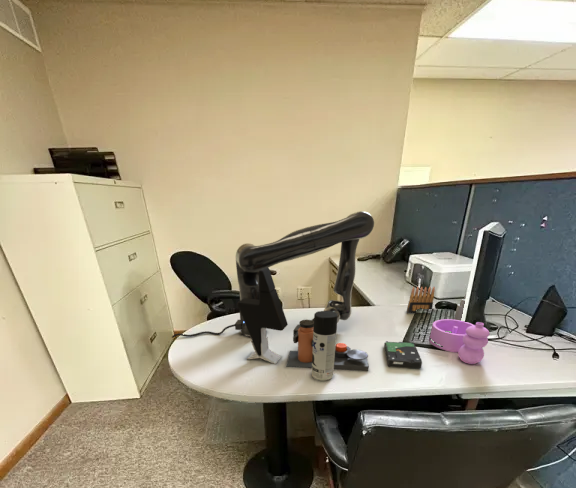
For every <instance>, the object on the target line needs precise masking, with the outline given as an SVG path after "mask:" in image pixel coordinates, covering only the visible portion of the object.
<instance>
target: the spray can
mask: <svg viewBox="0 0 576 488" xmlns="http://www.w3.org/2000/svg"><path fill="white" fill-rule="evenodd" d="M313 315H314V316H313V318H314V328H313V352H312V368H311V376H312V378H313V379H314V380H316V381H320V382H326V381H330V380H331V379H333V377H334V371H335V369H334V358H335V346H336V344H337V332H338V323H337V318H338V315H337V314H336V313H335V312H332V311H324V310H319V311H318V310H317V311H315V313H314V314H313Z"/></svg>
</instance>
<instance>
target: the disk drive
mask: <svg viewBox="0 0 576 488" xmlns="http://www.w3.org/2000/svg"><path fill="white" fill-rule="evenodd" d="M383 349H384V353H385V358H386V363H387V366H388V367H391V368H403V369H404V368H405V369H422V367H423V366H422V365H423V361H422V358H421V356H420V353H419V351H418V349H417V346H416V343H415V342H409V341H387V340H386V341H385V342H384V343H383Z"/></svg>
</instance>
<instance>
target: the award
mask: <svg viewBox="0 0 576 488" xmlns="http://www.w3.org/2000/svg"><path fill="white" fill-rule="evenodd" d="M259 291H260V292H259V300H256V299H248V298H243V299H242V300H240V299H239V301H238V302H237V303H236V304H237V307H238V310H239V313H240V312H241V315H242V317H243V320H244V322H245V324H246V327H247V329H248V332H249V334H250V336H251V337H250V339H251V341H250V343H251V345H252V349H253V350H254V351H253V352H252V353H251V354H250V355H249V356H248V357H247V358H246V360H255V359H262V360H264V361H266V362H268V363H271V364H274V365H276V364H277V363H278V362H279V360H280V359H281V358H282V356H281V355H279V354H277V353H276V352H274V351H273V350H272V349H270V347H269V337H268V336H267V329H268V330H273V331H274V330H275V331H280V332H282V331H284V330H285V328H286V327H287V326H288V321H287V317H286V314H285V312H284V308H283V305H282V303H281V299H280V297H279V294H278V291H277V288H276V285H275V283H274V279H273V276H272V273H271V270H270V267H265V268H263V269H261V270H259Z"/></svg>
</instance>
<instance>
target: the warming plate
mask: <svg viewBox="0 0 576 488" xmlns="http://www.w3.org/2000/svg"><path fill="white" fill-rule="evenodd" d="M346 355H347V357H348V358H350V359H353V360H364V359H366V358H367V359H368V357H369V354H368V352H367V351H365V350H361V349H351V350H349V351H348V352H347V353H346Z"/></svg>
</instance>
